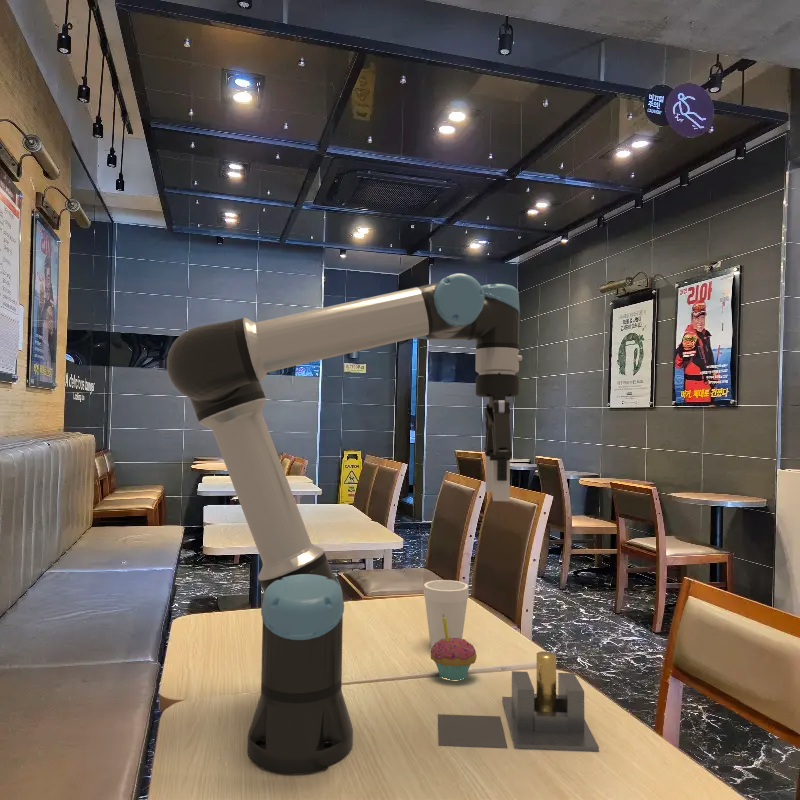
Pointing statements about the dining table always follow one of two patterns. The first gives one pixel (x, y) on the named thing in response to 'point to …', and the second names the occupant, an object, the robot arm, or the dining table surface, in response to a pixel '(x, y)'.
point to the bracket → (548, 717)
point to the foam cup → (445, 608)
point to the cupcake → (453, 656)
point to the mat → (471, 731)
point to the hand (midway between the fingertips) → (496, 496)
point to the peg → (546, 682)
